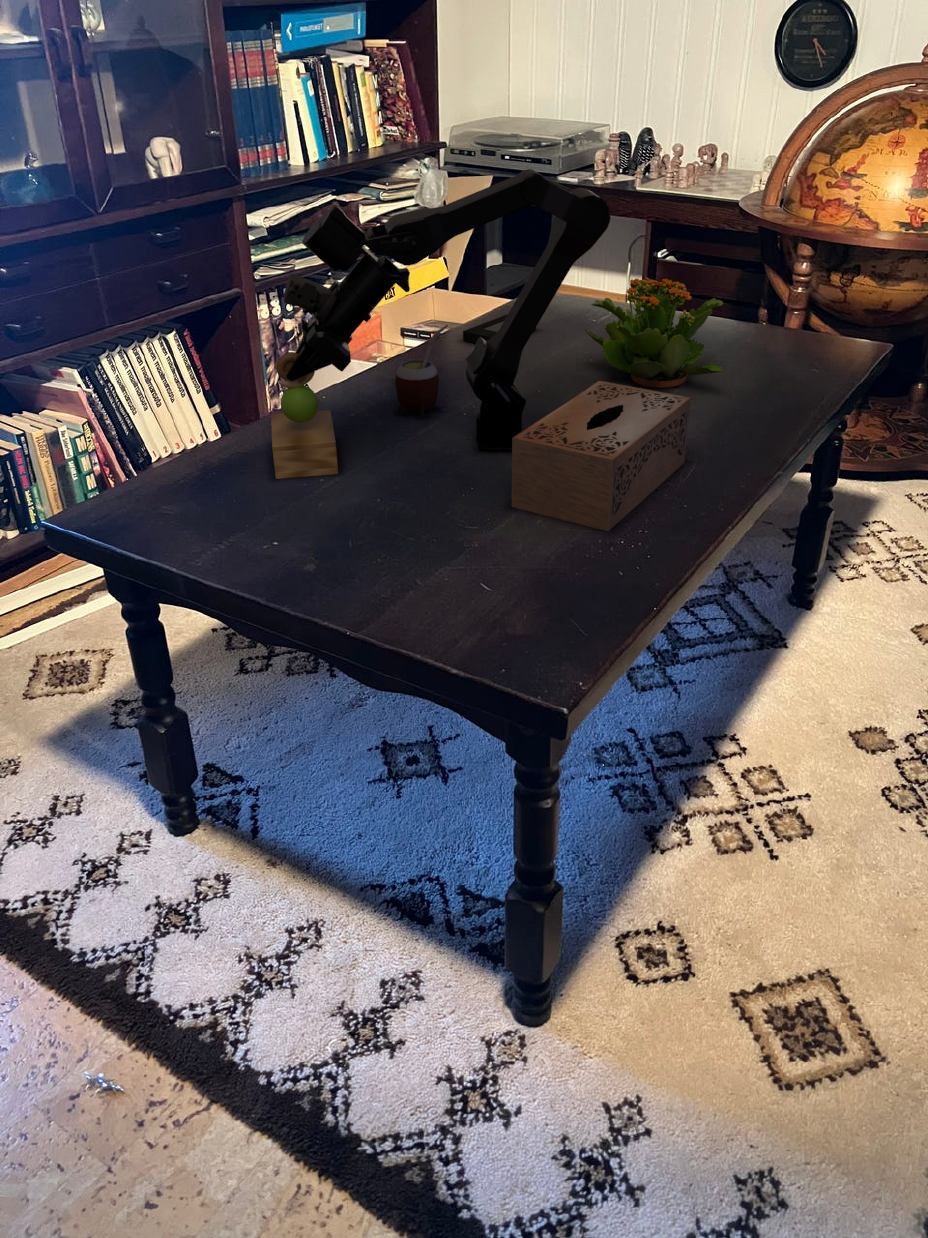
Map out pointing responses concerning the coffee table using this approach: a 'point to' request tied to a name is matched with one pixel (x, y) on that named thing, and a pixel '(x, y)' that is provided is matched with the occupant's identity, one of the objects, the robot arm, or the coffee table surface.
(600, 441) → the tissue box cover
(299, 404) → the snail figurine
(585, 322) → the coffee table surface
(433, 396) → the mate gourd
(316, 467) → the tan rectangular block
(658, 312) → the potted flower
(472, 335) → the vhs tape
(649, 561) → the coffee table surface
